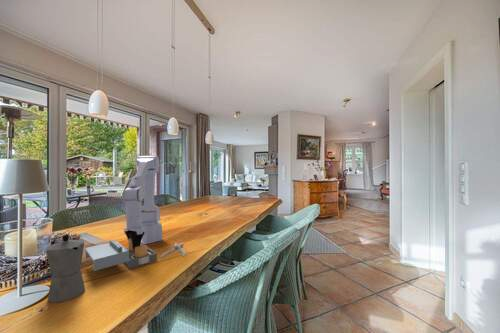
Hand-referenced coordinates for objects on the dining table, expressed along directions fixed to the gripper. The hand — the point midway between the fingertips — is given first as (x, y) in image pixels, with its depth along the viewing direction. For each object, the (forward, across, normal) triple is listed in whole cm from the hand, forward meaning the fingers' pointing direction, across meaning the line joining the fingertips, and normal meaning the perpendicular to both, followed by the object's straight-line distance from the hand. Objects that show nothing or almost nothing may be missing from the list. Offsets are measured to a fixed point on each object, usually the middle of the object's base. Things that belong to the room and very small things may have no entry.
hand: (134, 247), depth 95 cm
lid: (0, +4, -11) cm, 12 cm away
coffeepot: (+4, +14, -24) cm, 28 cm away
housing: (+4, +4, 0) cm, 6 cm away
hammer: (+4, +7, +15) cm, 17 cm away
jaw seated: (+3, +8, 0) cm, 9 cm away
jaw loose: (+1, 0, 0) cm, 1 cm away
